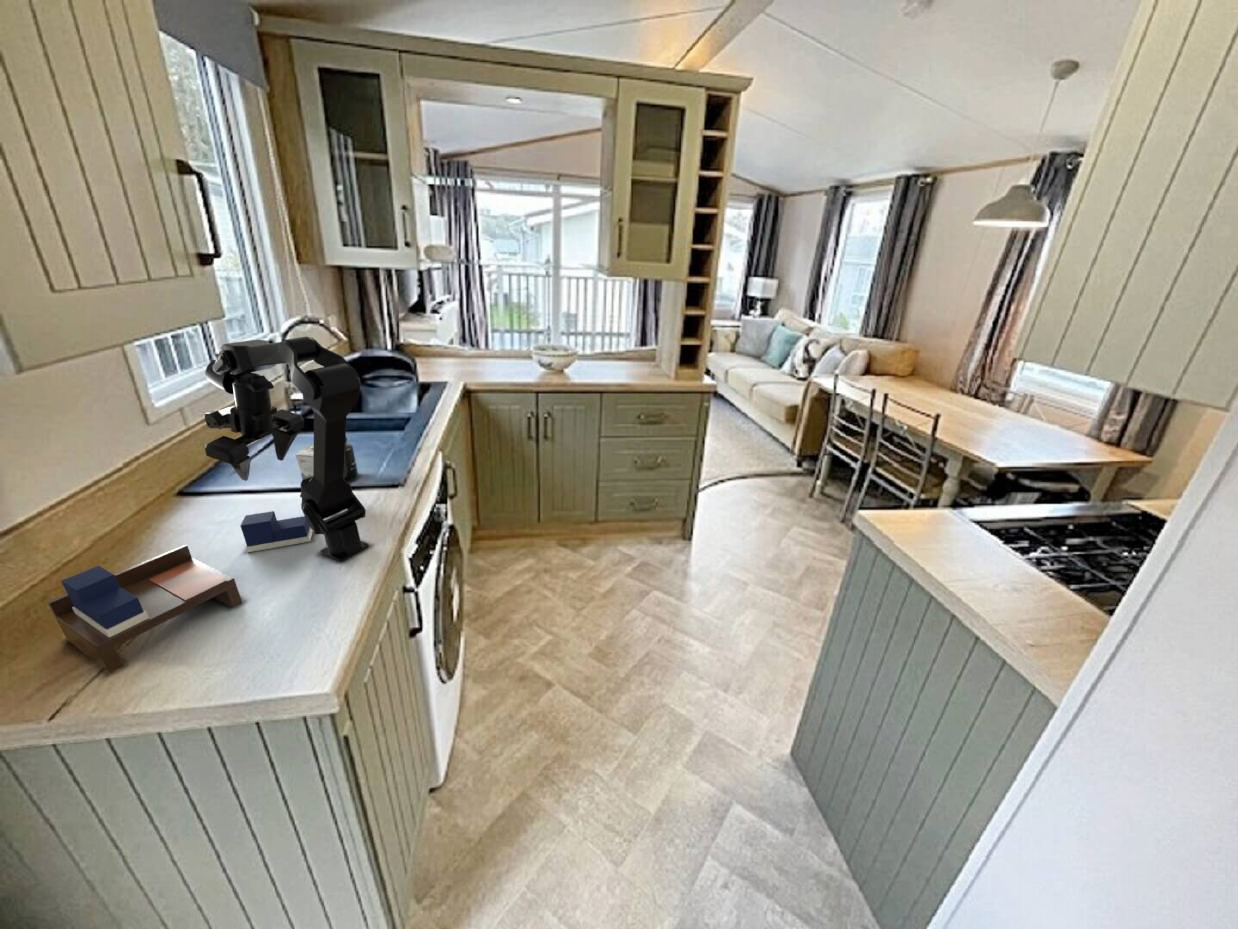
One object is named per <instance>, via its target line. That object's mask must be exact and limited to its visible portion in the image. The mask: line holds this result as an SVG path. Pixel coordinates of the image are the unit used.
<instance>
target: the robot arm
mask: <svg viewBox="0 0 1238 929" xmlns="http://www.w3.org/2000/svg"><path fill="white" fill-rule="evenodd" d="M311 361H313V362H314V363H315V364H317V365H319V366H321V367H317V368H314V369H313V368H312V369H308V370H306V371H303V369H302V368H301V367H300V366H299V365H298V364H300V363H305V362H311ZM281 364H287V366H288V367H290V380H291V381H290V382H291V383H292V384H293V385H294V386H295V387H296V388H297V390H298V391H299V392H300V393H301V394H302V399H303V401H304V402H305V404H306V405H307V406H308V407H309V408H310V409H311V410H312V411H313V446H314V461H313V476H312V477H309V478H307V479H304V480H302V479H301V482H300V495H299V497H300V498H301V504H300V507H301V508H300V509H301V511H302V513H303V516H305V517H306V520H307V522H308V524H309V526H310V527H311V529H312V530H313V535H316V536H317V535H323V536H324V541H325V544H326V547H324V548H323V549H321V550H320V554H321V555H324V556H326V557H328V558H330V559H333V560H336V561H338V562H343V561H346V560H347V559H350V558H351V557H353V556H355V555H357V554H359V553H360V552H362V551H364V550H365V549H367V548H369V547H370V545H369V544H370V543H368V542H365V541H362V540H361V536H360V532H359V528H358V523H357V522H356V521H359V520H360V519H363V518H365V517H366V508H365V506H364V505H363V504H362V502H361V500H359V499H358V497H357V496H356V495H355V493H354V492H353V487H352V486H351V484H350V483H349V482H346V480H345V479H344V458H345V438H347V435H346V434H347V417H348V415H349V414H350V412H352V410H353V409H354V407H355V406H356V404H357V403H358V400H359V396H360V391H361V382H362V381H361V378H360V375H359V373H358V372H357V370H356V369H355V368H354V367H353V366H352V365H351V364H350V363H349V362H348V361H347V359H345V358H344V356H342V355H341V354H338V353H337V352H334V351H332V350H330V349H328V348H326V347H324V346H322V345H321V344H320V343H319V342H318V340H316V339H315V338H314V337H312V336H311V337H309V336H301V337H294V338H287V339H284V340H282V341H278V342H272V343H271V342H269V341H268V340H265V339H259V338H257V339H250V340H243V341H236V342H230V343H229V342H228V343H222V345H221V347H220V351H219V353H214V354H213V360H211V361H210V362H209V364H207V366H206V368H205V371H204V375H205V378H206V379H207V381H209V382H210V383H212V384H213V385H215V386H216V387H218V388H219V389H221V390H222V391H224V392H225V393H227V394H230V395H233V397H234V403H235V406H228V407H225V408H223V409H219V410H215V411H214V410H210V411H208V412H205V413H204V421H205V424H206V426H207V427H208V428H209V429H217V430H223V429H230V431H231V432H232V433H235V434H238V433H240V435H241V436H238V437H237V438H232V437H229V436H226V435H222V436H220V437H218V438H216V439H214V440H211V441H209V442H207V443H205V445H204V451H205V456H206V457H209V458H212V459H215V460H217V461H220V462H223V463H226V464H229V465H230V466H231V467H232V469H233V470H234V472H236V474H237V475H238V476H239V478H240V479H241V480H242V481H245V482H247V481H248V480H249V477H250V470H251V461H252V459H251V458H252V456H250V455H249V454H250V449H249V446H251V445H253V444H255V443H257V442H259V441H261V440H263V439H265V438H267V437H269V436H270V435H271V436H272V439H273V445H274V451H275V454H276V459H277V460H278V461H281V462H282V461H284V460H285V458H286V455H287V453H288V452H289V450H290V448H291V447H292V444H293V443H294V441H295V440H296V438H297V436H298V434H300V433H301V430H302V429H304V428H305V419H304V417H302V416H301V415H300V414H298V413H294V412H292V411H289V410H285V409H279V410H278V408H277V407H275V406H272V401H271V394H270V393H271V392H270V390H272V389H274V388H275V387H274V384H273V383H272V382H271V381H270V380H268V379H267V377H266V376H265V375H262V374H259V373H256V372H261V371H265V370H270V369H272V368H273V367H276V366H277V365H281Z"/></svg>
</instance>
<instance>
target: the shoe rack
mask: <svg viewBox="0 0 1238 929" xmlns="http://www.w3.org/2000/svg"><path fill="white" fill-rule="evenodd" d="M113 574H114V575H115V577H116V580H117V582H118V584H119V586H120V587H121V588H122V589H124V590H126V591H127V592H129V593H131V594H132V595H134V596H135V597H137V598H138V600H139V602H140V604H141V606H142V609H143V610H144V611H146V612H147V614H148V616H149V618H148V619H146V620H144V621H142V622H140V623H138V624H136V625H134V626H132V627H130V628H128V629H126V630H124V631H122V632H120V633H118V634H116V635H114V636H112V637H110V638H109V637H107V636H106V635H105V634H103V633H102V632H100V631H99V630H98V629H96V628H95V627H93V626H92V625H90V624H89V623H88V622H86V621H85V620H83V619H82V618H81V617H79V616H78V615H76V614H75V612H74V610H73V608H72V607H74V605H73V604H72V602H71V600H70V598H69V596H68V594H67V593H65V594H63V595H60V596H58V597H56V598H53V599H51V600H49V601H46V603H47V604H48V607H49V608H50V610H51V612H52V614H53V615H54V617H55V620H56V622H57V623H58V625H59V627H60V629H61V631H62V632H63V635H64V636H65V639H66V640H67V642H69V643H70V644H71V645H73V646H74V647H75V648H77V649H78V650H79V651H81V652H82V653H83V654H84V655H86V656H87V657H88V658H90V659H91V660H92V661H93V662H95V663H96V664H97V665H99V666H100V667H101V668H103V669H104V670H105V671H107V672H108V673H109V674H111V673H113V672H115V671H117V670H120V669H121V668H123V667H124V663H123V662H122V660H121V659H122V658H121V657H120V655H119V653H118V651H117V649H116V647H118V646H120V645H122V644H124V643H126V642H128V641H130V640H132V639H134V638H136V637H138V636H140V635H142V634H143V633H146V632H148V631H149V630H151V629H153V628H156V627H158V626H159V625H161V624H163V623H165V622H167V621H170V620H171V619H173V618H175V617H177V616H179V615H181V614H184V613H185V612H188V611H189V610H191V609H193V608H195V607H197V606H199V605H201V604H203V603H205V602H207V601H209V600H211V599H216V600H217V601H219V602H221V603H223V604H225V605H227V606H229V607H230V608H234V607H236V606H238V605H240V604H242V603H243V600H242V597H241V594H240V592H239V589H238V586H237V583H236V580H235V578H234V577H233V576H230V575H228V574H226V573H224V572H222V571H220V570H218V569H216V568H214V567H212V566H210V565H208V564H206V563H205V562H202V561H200V560H198V559H196V558H194V557H193V556H192V554H191V551H190V549H189V547H188V545H187V544H183V545H181V546H179V547H176V548H173V549H171V550H169V551H166V552H164V553H161V554H159V555H156V556H154V557H152V558H149V559H147V560H145V561H142V562H139V563H137V564H136V565H133V566H132V565H131V566H130V567H128V568H125V569H123V570H121V571H118V572H116V573H113Z"/></svg>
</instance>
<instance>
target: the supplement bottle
mask: <svg viewBox="0 0 1238 929" xmlns="http://www.w3.org/2000/svg"><path fill="white" fill-rule="evenodd" d="M358 478H359V471H358V464H357V460H356V456H355V450H354V447H353V444H351V443H350V442H348V438H347V437H346V438H345V458H344V479H345V480H346V482H347V483H351V482H353V481H355V480H357V479H358Z"/></svg>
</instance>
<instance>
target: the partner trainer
mask: <svg viewBox="0 0 1238 929" xmlns="http://www.w3.org/2000/svg"><path fill="white" fill-rule="evenodd" d="M114 574H115V573H112V572H110V571H108V570H107V569H105V568H104V567H102V566H100V565H97V566H95V567H92V568H88V569H86V570H84V571H82V572H79V573H77V574H74V575H72V576H70V577H66V578H64V579H62V580H61V581H60V582H61V585H62V586H63V588H64V590H65V592H66V594H68V596H69V598H70V600H71V602H72V604H73V605H74V607H72V608H73V610H74V612H75V614H76V615H78V616H79V617H81V618H82V619H83V620H85V621H86V622H88V623H89V624H90V625H92V626H93V627H95V628H96V629H98V630H99V631H100V632H102V633H103V634H105V635H106V636H107V637H109V638H110V637H112V636H114V635H116V634H118V633H120V632H122V631H124V630H126V629H128V628H130V627H132V626H134V625H136V624H138V623H140V622H142V621H144V620H146V619H148V618H149V616H148V614H147V612H146V611H144V610H143V609H142V606H141V604H140V602H139V600H138V598H137V597H135V596H134V595H132V594H131V593H129V592H127V591H126V590H124V589H122V588H121V587H120V586H119V584H118V582H117V580H116V577H115V575H114Z"/></svg>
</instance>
